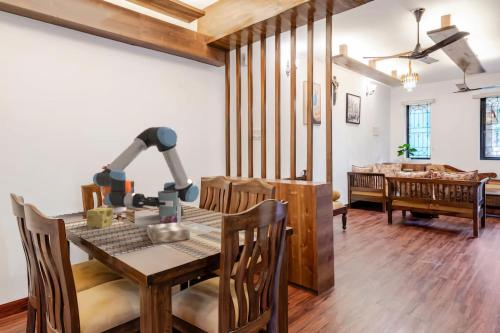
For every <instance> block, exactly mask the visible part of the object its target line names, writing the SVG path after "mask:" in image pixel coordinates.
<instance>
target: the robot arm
mask: <svg viewBox="0 0 500 333" xmlns="http://www.w3.org/2000/svg"><path fill="white" fill-rule="evenodd" d="M177 134H178V133H176V130H174V128H172V127H170V126H152V127H147V128H145V129H144V130H143V131H142V132H140V133H139V134H138V135H137V136H136V137H135V138H133V142H132V143H131V144H130V145H129V146H127V147H126V148H125V149H124V150H123V151H122V152H121V153H120V154H119V155H118V156H117V157H116V158H115V159H114V160H113V161H112V162H110V165H109V166H108V165H107V166H108V167H107V168H106V169H103V170H102V171H101V172H96V173H95V174H93V176H92V182H93V183H94V184H95V185H96V186H97V187H98V186H99V187H100V186H101V187H103V186H104V187H110V193H107V195H106V198H105V203H106V205H107V206H111V207H126V208H129V209H132V208H135V209H141V208H143V207H154V208H158V209H159V205H160V206H169V207H172V206H173V201H160V202H159V200H158V196H146V197H145V194H143V193H135V192H133V193H132V192H130V193H126V190H125V186H126V180H127V177H126V171H125V170H126V168H127V167H128V166H129V165H130V164H131V163H132V162H133V161H134V160H135V159H136V158H137V157H138V156H139V155H140V154H141V153H142V152H144V151H147V150H148V149H149V148H151V147H156V148H157V151H158V152H159V153H161V154H162V155H163V156H162V157H163V158H164V161H165V163H166V164H167V168H168V169H169V172H170V174H171V176H172V179H173V181H169V182H165V183H164V184H163V191H178V197H177V203H180V200H181V202H183V203H184V202H185V203H194V202H195V201H196V200H197V199H198V197H199V195H200V190H199V189H200V188H199V187H198V186H197V185H196V184H194V183H193V181H192V179H191V178H188V175H187V173H186V170H185V168H184V165H183V164H182V161H181V158H180V156H179V153H178V151H177V149H176V148H177V142H178V135H177ZM184 213H185V212H184V208H183V205H182V204H181V215H182V216H183V215H185V214H184Z"/></svg>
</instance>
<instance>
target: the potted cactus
mask: <svg viewBox="0 0 500 333" xmlns="http://www.w3.org/2000/svg"><path fill="white" fill-rule="evenodd" d="M110 164H111V163H110ZM110 164H109V163H108V164H107V165H103V166H102V167H101V169H103V170H105V169H106V168H107V167H108V166H109V165H110ZM131 188H132V184H131V181H130V180H127V179H126V186H125V190H126V193H131ZM99 191H100V193H101V194H102V196H103V198H102V200H101V202H102V204H103V205H100V206H98V208H113V214H115V213H116V214H118V213H121V212H125V211H126V210H127V207H111V206H107V205H106V203H105V198H106V195H107V193H110V187H104V186H103V187H101V186H99ZM117 212H118V213H117Z"/></svg>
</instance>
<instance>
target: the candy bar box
mask: <svg viewBox="0 0 500 333" xmlns="http://www.w3.org/2000/svg"><path fill="white" fill-rule="evenodd" d="M181 205H182V201H181V200H180V203H177V207H176V215H173V216H160V224H167V223H177V222H180V223H181V224H182V216H181Z"/></svg>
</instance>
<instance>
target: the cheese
mask: <svg viewBox="0 0 500 333" xmlns="http://www.w3.org/2000/svg"><path fill="white" fill-rule="evenodd" d="M113 221H114V213H113V208H99V207H95V208H92V209H88V210H86V227H87V228H96V229H103V228H106V227H108V226H112V225H113Z"/></svg>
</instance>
